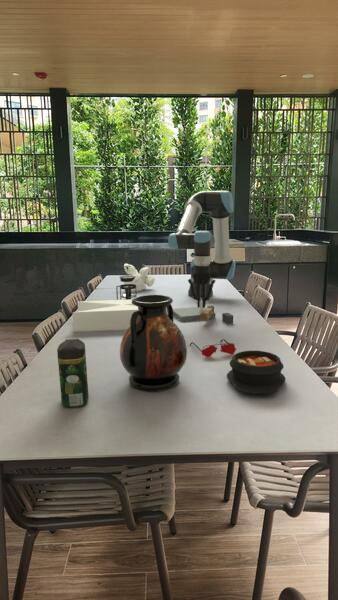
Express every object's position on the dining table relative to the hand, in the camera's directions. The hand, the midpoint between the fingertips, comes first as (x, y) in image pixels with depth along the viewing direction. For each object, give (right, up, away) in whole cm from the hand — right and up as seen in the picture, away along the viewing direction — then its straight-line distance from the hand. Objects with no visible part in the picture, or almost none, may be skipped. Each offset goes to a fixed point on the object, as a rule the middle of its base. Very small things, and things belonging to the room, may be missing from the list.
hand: (201, 313), depth 210 cm
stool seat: (-3, -1, +14) cm, 14 cm away
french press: (-38, +3, +35) cm, 52 cm away
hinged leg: (+3, -1, +3) cm, 4 cm away
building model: (-37, -5, +4) cm, 38 cm away
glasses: (+2, -13, -36) cm, 38 cm away
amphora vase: (-20, -20, -65) cm, 71 cm away
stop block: (+13, -4, +1) cm, 13 cm away
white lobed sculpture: (-35, +14, +82) cm, 90 cm away
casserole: (+13, -20, -67) cm, 71 cm away
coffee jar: (-43, -24, -78) cm, 93 cm away
